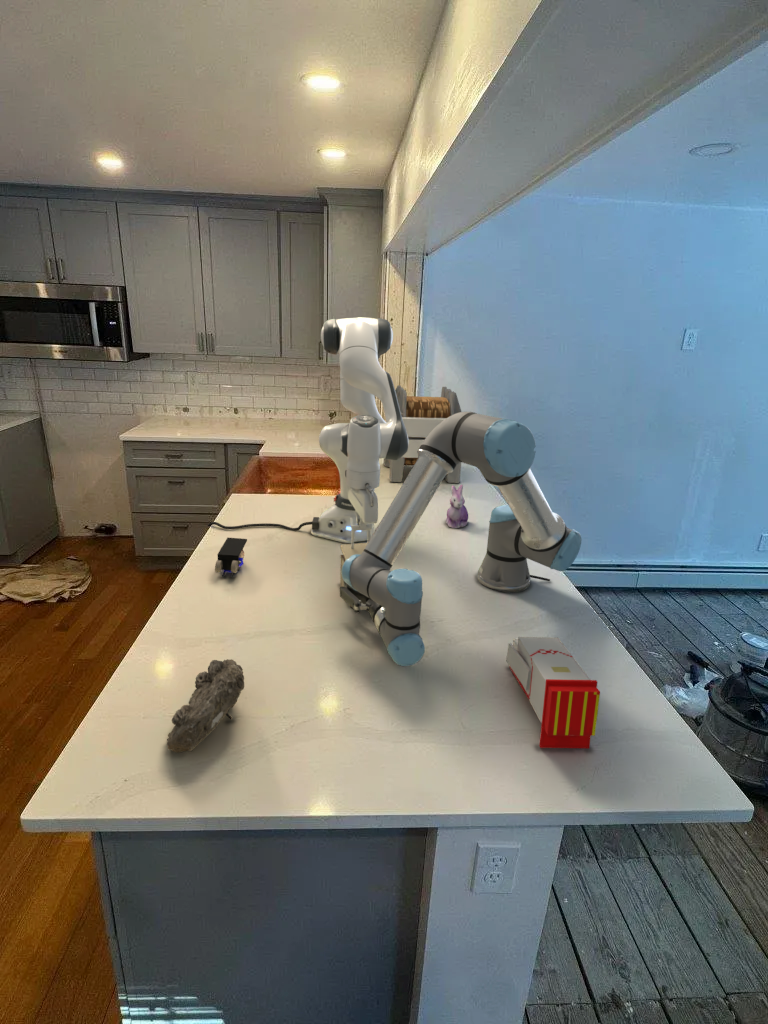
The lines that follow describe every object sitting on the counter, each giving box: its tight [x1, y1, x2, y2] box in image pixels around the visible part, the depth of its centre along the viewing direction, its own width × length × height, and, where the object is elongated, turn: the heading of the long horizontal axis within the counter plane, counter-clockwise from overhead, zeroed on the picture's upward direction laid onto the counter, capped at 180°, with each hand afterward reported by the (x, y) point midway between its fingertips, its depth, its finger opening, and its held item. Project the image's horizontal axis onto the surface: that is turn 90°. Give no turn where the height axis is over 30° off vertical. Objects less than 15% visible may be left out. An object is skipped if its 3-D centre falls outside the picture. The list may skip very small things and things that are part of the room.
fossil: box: [166, 658, 245, 754], centre depth 106 cm, size 22×10×15 cm
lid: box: [340, 524, 372, 560], centre depth 152 cm, size 14×10×8 cm
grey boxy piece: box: [383, 384, 462, 484], centre depth 268 cm, size 34×33×41 cm
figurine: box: [445, 484, 469, 529], centre depth 209 cm, size 9×10×15 cm
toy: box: [505, 636, 601, 749], centre depth 115 cm, size 12×13×30 cm
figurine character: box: [214, 537, 248, 578], centre depth 166 cm, size 7×8×15 cm
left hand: (361, 526), depth 154 cm, fingers closed on lid, 2 cm apart
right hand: (366, 575), depth 152 cm, fingers closed on chest, 10 cm apart
